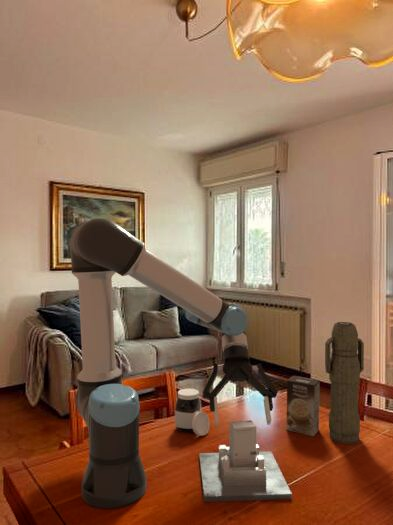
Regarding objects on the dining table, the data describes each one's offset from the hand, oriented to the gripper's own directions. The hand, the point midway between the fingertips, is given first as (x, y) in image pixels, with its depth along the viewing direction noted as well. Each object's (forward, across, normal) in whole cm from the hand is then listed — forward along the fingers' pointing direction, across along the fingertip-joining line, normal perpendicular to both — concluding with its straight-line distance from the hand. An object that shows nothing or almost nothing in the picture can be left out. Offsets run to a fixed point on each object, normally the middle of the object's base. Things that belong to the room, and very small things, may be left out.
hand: (243, 423), depth 104 cm
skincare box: (+10, 0, -6) cm, 12 cm away
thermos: (-4, -34, -22) cm, 40 cm away
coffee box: (-8, -23, -26) cm, 35 cm away
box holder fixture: (+11, +1, -7) cm, 13 cm away
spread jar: (-9, +12, -27) cm, 31 cm away
